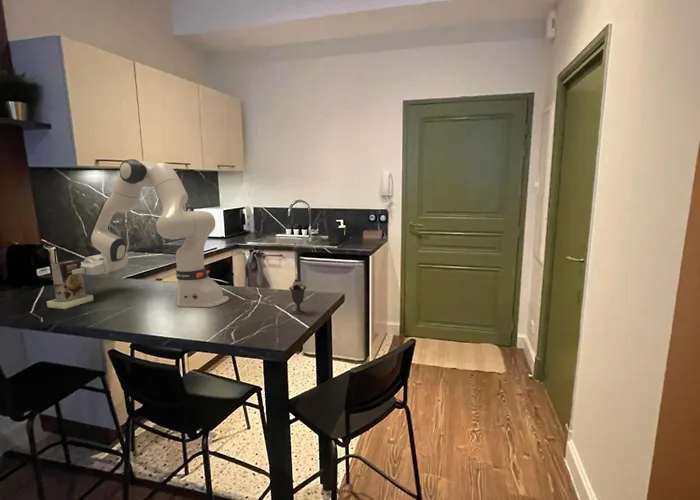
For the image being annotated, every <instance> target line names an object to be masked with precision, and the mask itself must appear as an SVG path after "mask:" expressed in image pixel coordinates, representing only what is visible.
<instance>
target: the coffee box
mask: <svg viewBox="0 0 700 500" xmlns="http://www.w3.org/2000/svg"><path fill="white" fill-rule="evenodd" d="M81 262H82V261H81V260H80V259H79V260H78V259H74V260H73V259H70V260H64V261H59V262H54V263H51V264H50V268H51V274H52V279H53V281H52V282H53V288H54V292H55V293H54V294H55V299H56V300H58V301H69V300H72V299H76V298H79V297H83V296H86V295H87V294H86V289H85V282H84V276H83V275H84V274H81V273H78V274H71V273H70V270H73V269H80V268H81V267H80V266H81ZM85 294H86V295H85Z"/></svg>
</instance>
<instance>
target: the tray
mask: <svg viewBox="0 0 700 500" xmlns="http://www.w3.org/2000/svg"><path fill="white" fill-rule="evenodd" d="M85 295H86V296H83V297H79V298H76V299H72V300H69V301H58V300H56V298H55V299H51V300H48V301H46V306H47V308H50V309H60V310H67V309H71V308H74V307H77V306H80V304H81V305H83V304H87V303H90V302H94V295H93V294H86V293H85Z"/></svg>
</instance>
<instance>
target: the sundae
mask: <svg viewBox="0 0 700 500" xmlns="http://www.w3.org/2000/svg"><path fill="white" fill-rule="evenodd" d="M297 275H298V274H295V276H296V279H294V281H293V282H292V284H291V286H290V287H288V290H290V293H291V299H292V302H293V303H294V304H295V305H296V310H294V311H292V314H293V315H297V316H298V315H304V314H305V313H306V311H305V310H302V309H301V304H302V303H303V302H304V299H305V297H304V295H305V290H306V289H307V286H305V285H303V284H302V282H301V281H300V279H299V277H298V276H297Z"/></svg>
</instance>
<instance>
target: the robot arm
mask: <svg viewBox="0 0 700 500" xmlns="http://www.w3.org/2000/svg"><path fill="white" fill-rule="evenodd" d="M118 172H119V175H118V176H117V179H116V180H115V184H114V186H113V190H112V192H111V195H110V197H108V198H106V199H105V200H104V201H103V203H102V204H101V207H100V209H99V212H98V213H97V216H96V218H95V221H94V223H93V224H92V227H91V228H90V230H89V231H88V233H87V235H86V243H87V245H88V246H89V247H91V248H93V249H95V250H98V251H100V254H96V255H91V256H86V257H85V259H84V260H83V261H81V266H80V267H81V268H80V269H73V270H70V273H71V274H78V273H81V274H83V275H90V276H96V275H97V276H99V275H107V274H109V272H113V271H117V270H119V269H121V268H124V267H126V265H128V262H129V255H128V253H127V248H128V247H127V241H126V240H125V239H124V238H123V237H120V236H119V235H117V234H115V233H112V232H111V231H109V225H110V223H111V221H112V218H113V216H114V214H116V213H128V212H131V211H133V210H135V209H136V208H137V206H138V205H139V202H140V197H141V193H142V189H143V188H144V187H147V188H149V187H150V188H154V189H155V192H156V195H157V196H158V199H159V202H160V204H161V207H162V211H161V214H160V216H159V217H158V219H157V221H156V226H155V228H156V230H157V233H158V234H159V235H160V236H161V238H163V239H168V240H179V239H184V241H183V244H182V245H181V246H180V247H179V248H178V249H177V250H176V253H175V259H176V260H175V263H176V270H175V271H176V272H175V276H176V279H177V290H176V291H177V293H176V294H177V295H176V299H175V303H176V307H183V308H184V307H185V308H186V307H188V308H213V307H217V306H219V305H222V304H224V303H226V302H228V301H229V299H230V297H229V296H227V295H224V292H223V288H222V286H221V285H220V284H219V283H217V282H216V281H215V280H213V279H212V278H211V277H210V276H209V274H210V271H211V270H210V269H209V270H207V269H206V268H205V260H204V259H205V258H204V254H205V253H204V251H205V247H206V243H207V240H208V238H209V236H210V235H211V233H212V232H213V231H214V230H215V228H216V219H215V217H214V215H213V214H212V213H211V212H209V211H204V210H193V211H187V210H186V211H185V209H184V206H185V205H186V203H187V202H188V198H189V195H188V193H187V190H186V189H185V187H184V184H183V183H182V180H181V179H180V177H179V176H178V174H177V172H176V171H175V169H174V168H173V167H172V165H170V164H169V163H168V162H157V163H155V162H152V161H151V162H150V161H147V160H139V159H133V158H132V159H131V158H130V159H124V160H123V161H122V162H121V164H120V166H119V171H118Z"/></svg>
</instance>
